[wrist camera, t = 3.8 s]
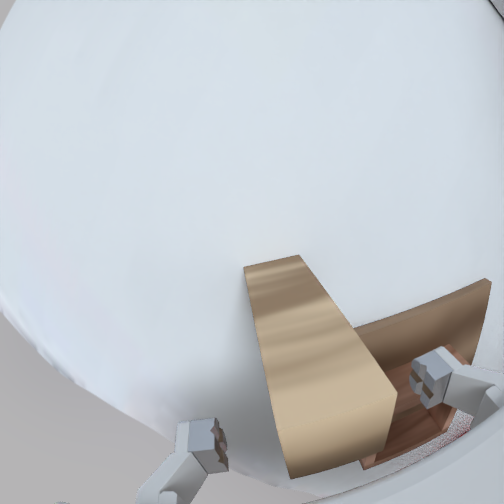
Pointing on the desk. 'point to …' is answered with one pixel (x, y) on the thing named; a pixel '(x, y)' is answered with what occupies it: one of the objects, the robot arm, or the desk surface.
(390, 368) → the wooden peg socket board
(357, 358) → the wooden peg
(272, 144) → the desk surface
